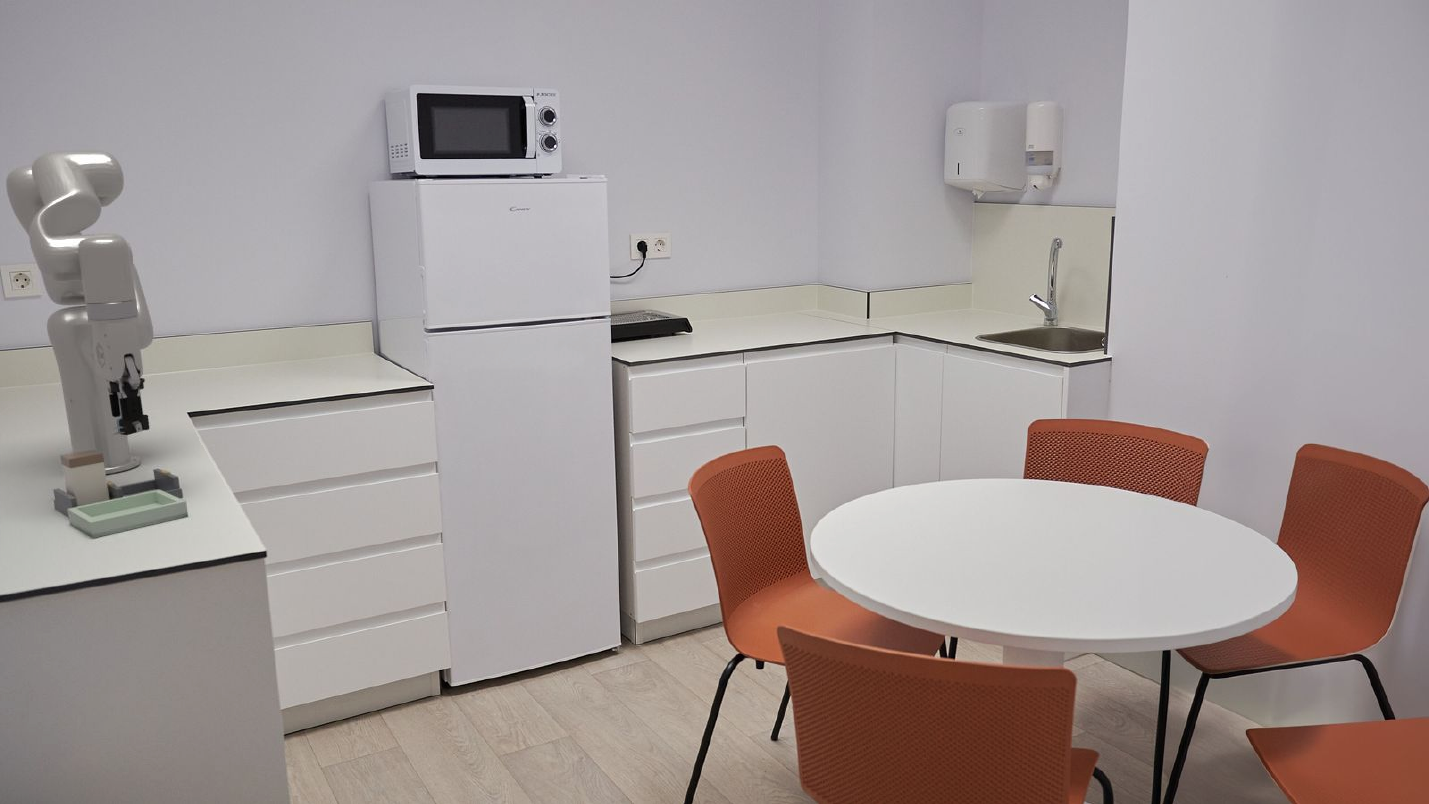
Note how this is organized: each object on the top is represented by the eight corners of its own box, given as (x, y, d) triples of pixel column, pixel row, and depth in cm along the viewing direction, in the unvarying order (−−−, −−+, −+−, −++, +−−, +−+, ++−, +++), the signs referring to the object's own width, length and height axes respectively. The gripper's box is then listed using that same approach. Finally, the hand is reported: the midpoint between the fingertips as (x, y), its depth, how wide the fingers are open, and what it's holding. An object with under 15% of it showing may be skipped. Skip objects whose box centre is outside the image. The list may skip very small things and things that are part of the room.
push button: (125, 439, 184) (118, 380, 182) (101, 436, 186) (94, 378, 184) (157, 429, 190) (151, 373, 188) (134, 426, 192) (127, 371, 190)
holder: (54, 508, 186) (51, 486, 185) (158, 486, 197) (155, 466, 197) (75, 520, 178) (72, 498, 177) (183, 497, 189) (180, 476, 188)
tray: (69, 523, 176) (67, 508, 175) (161, 503, 186) (159, 489, 185) (93, 538, 168) (90, 522, 167) (188, 516, 177) (186, 501, 177)
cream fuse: (69, 510, 184) (60, 455, 182) (102, 503, 188) (93, 449, 186) (77, 515, 181) (68, 459, 179) (111, 508, 184) (102, 453, 183)
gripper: (72, 310, 187) (88, 414, 191) (104, 318, 175) (120, 429, 179) (119, 305, 192) (134, 407, 196) (154, 313, 180) (169, 421, 184)
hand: (127, 416), depth 188 cm, fingers closed on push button, 4 cm apart
